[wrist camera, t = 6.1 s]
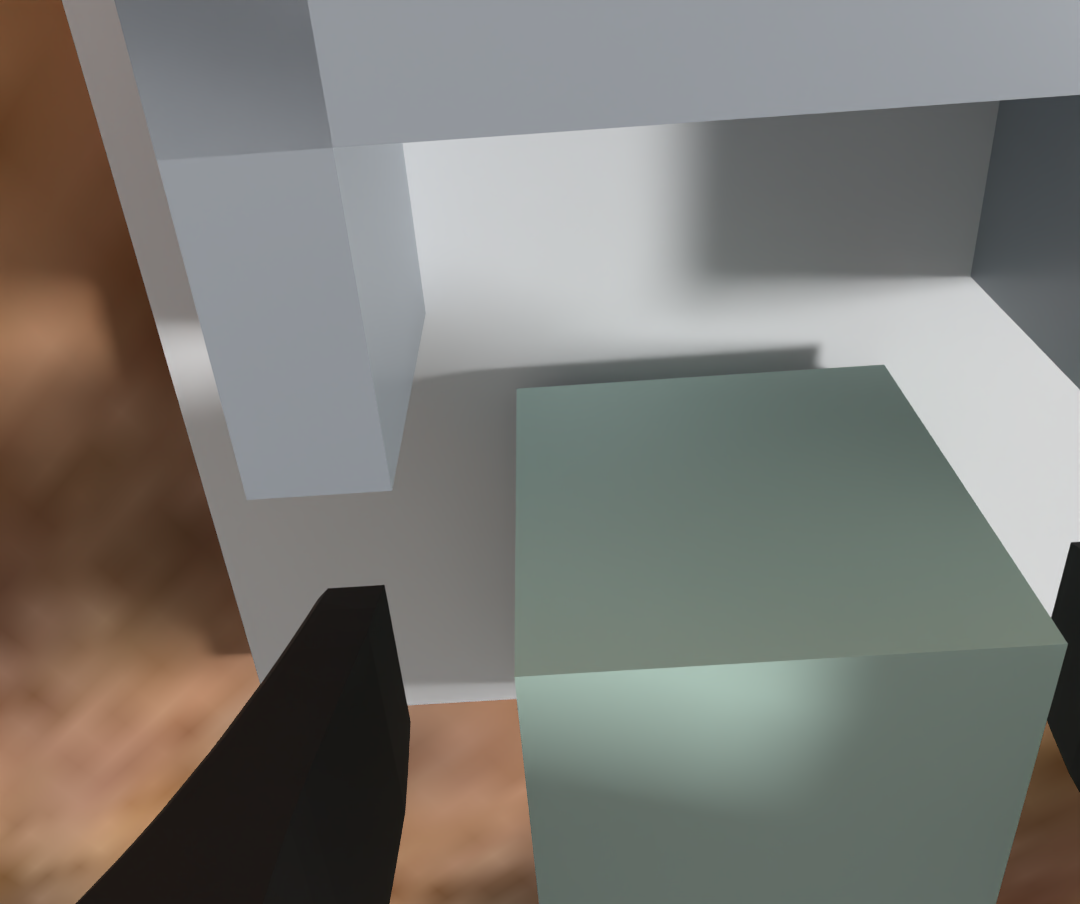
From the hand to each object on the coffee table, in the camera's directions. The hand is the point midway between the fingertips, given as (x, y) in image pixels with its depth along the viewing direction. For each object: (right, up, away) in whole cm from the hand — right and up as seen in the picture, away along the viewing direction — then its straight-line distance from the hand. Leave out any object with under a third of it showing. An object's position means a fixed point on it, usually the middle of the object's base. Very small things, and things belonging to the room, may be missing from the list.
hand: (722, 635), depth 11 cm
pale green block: (0, +1, +2) cm, 2 cm away
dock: (0, +3, +2) cm, 4 cm away
